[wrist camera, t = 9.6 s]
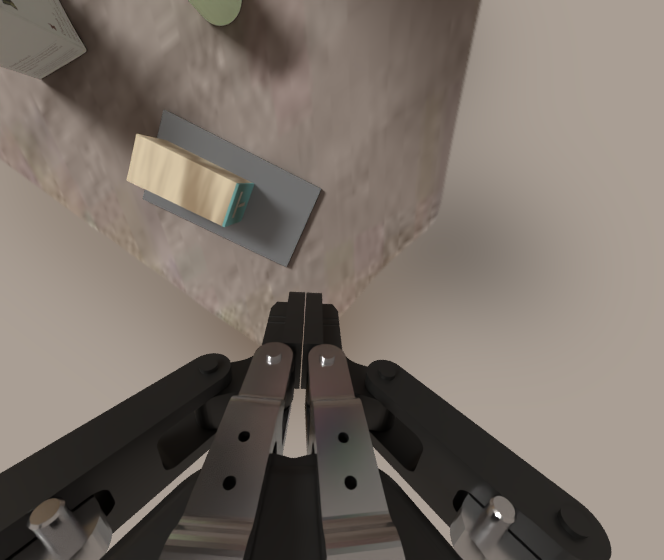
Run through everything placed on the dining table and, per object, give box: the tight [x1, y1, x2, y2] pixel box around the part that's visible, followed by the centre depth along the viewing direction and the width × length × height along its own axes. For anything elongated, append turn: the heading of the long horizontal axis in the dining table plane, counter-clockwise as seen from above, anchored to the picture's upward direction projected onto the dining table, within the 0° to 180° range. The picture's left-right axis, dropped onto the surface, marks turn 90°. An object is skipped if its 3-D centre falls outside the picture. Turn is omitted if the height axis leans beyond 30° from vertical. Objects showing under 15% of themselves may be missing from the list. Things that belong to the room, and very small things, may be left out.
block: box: [127, 134, 254, 227], centre depth 33 cm, size 5×5×11 cm
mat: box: [143, 110, 321, 267], centre depth 36 cm, size 20×11×1 cm, turn 64°
